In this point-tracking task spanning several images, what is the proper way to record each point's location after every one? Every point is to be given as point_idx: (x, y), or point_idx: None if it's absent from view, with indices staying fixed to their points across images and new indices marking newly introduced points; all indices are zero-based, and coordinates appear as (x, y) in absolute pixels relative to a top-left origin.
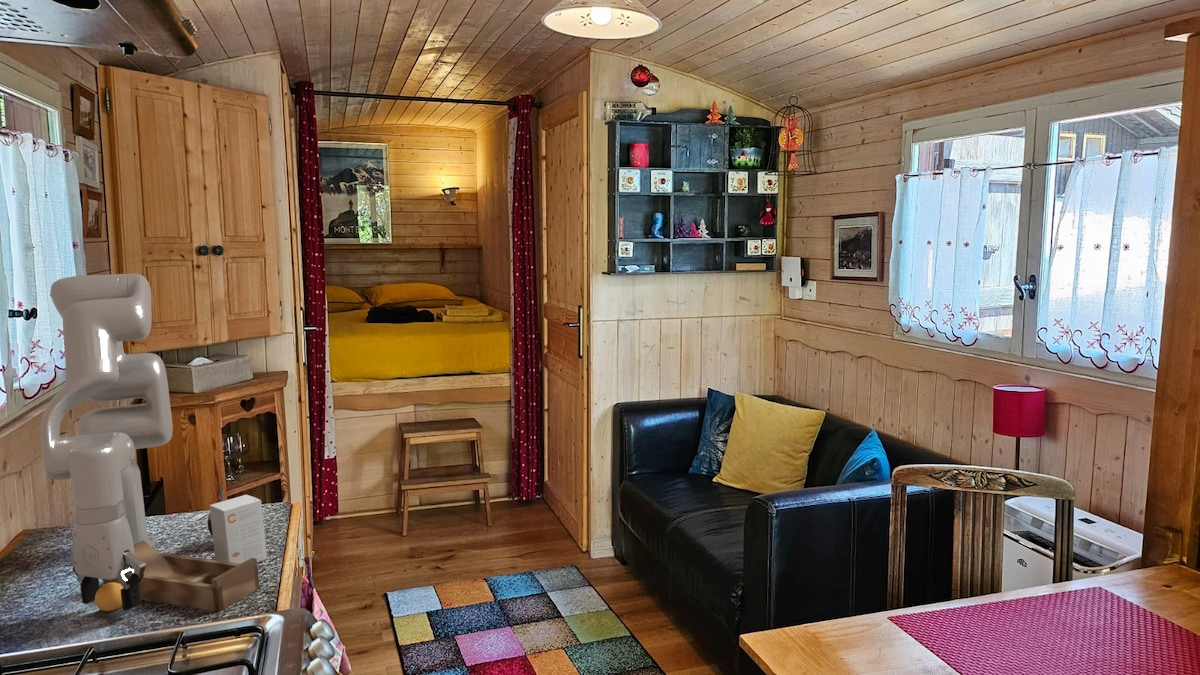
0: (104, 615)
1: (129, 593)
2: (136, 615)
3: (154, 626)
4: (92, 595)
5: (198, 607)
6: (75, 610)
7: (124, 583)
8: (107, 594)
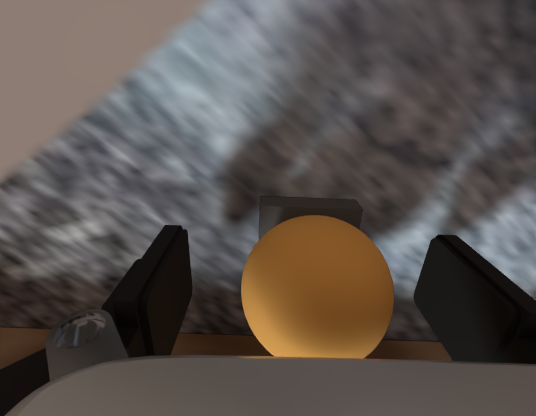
0: (299, 204)
1: (113, 297)
2: (201, 251)
3: (40, 199)
4: (437, 284)
5: (31, 331)
6: (492, 230)
7: (67, 350)
8: (280, 272)
